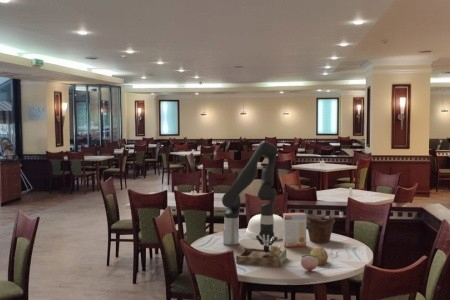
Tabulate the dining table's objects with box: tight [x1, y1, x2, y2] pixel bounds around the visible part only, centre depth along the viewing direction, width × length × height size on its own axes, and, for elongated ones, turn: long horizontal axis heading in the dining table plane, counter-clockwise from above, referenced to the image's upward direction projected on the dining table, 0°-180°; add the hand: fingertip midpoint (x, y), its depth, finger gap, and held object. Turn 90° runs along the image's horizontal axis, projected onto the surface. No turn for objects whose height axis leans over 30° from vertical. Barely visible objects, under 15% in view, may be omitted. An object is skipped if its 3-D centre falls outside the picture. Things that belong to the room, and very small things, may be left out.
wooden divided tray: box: [235, 247, 287, 268], centre depth 284 cm, size 25×18×6 cm
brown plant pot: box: [306, 213, 336, 244], centre depth 328 cm, size 18×20×18 cm
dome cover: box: [245, 213, 283, 241], centre depth 345 cm, size 32×30×14 cm
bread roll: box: [309, 247, 329, 266], centre depth 281 cm, size 10×15×8 cm, turn 3°
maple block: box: [269, 244, 282, 256], centre depth 285 cm, size 5×5×5 cm
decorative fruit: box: [300, 252, 319, 272], centre depth 265 cm, size 9×8×10 cm
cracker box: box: [282, 212, 307, 248], centre depth 315 cm, size 14×6×21 cm, turn 95°
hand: (266, 252), depth 287 cm, fingers closed
